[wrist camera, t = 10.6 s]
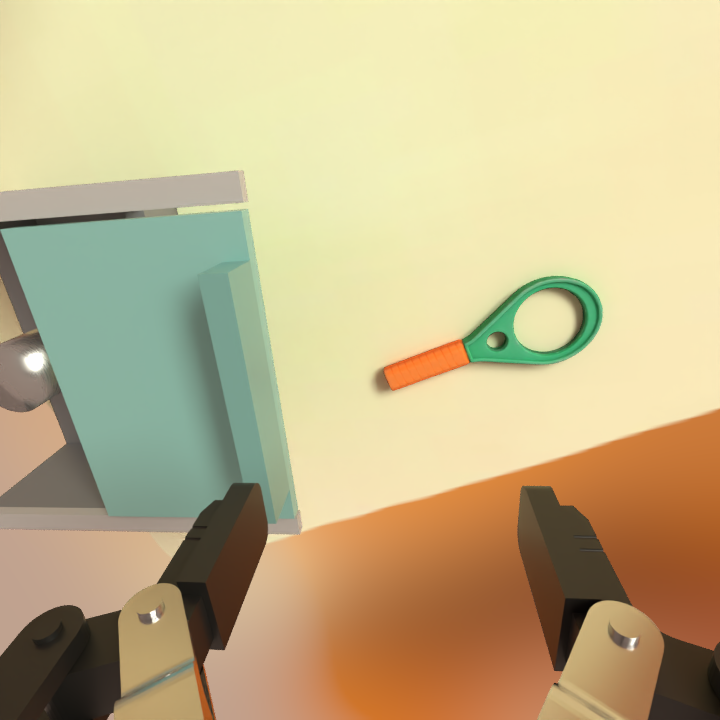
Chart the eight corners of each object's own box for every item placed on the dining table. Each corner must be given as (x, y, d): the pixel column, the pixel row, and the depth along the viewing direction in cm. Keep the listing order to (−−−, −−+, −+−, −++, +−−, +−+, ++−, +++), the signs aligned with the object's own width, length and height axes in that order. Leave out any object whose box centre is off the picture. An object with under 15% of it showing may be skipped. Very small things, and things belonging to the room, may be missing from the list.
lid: (15, 227, 20) (-56, 237, 17) (247, 209, 19) (216, 216, 16) (117, 506, 26) (79, 550, 23) (297, 508, 25) (282, 555, 22)
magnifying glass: (584, 259, 29) (594, 264, 28) (605, 338, 31) (615, 347, 30) (373, 339, 33) (371, 347, 31) (403, 405, 35) (403, 417, 33)
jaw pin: (126, 303, 32) (30, 347, 24) (138, 354, 34) (52, 412, 25) (75, 303, 33) (-37, 347, 24) (89, 353, 34) (-11, 411, 26)
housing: (18, 195, 31) (-187, 208, 20) (302, 170, 28) (237, 170, 18) (101, 429, 38) (-18, 528, 28) (332, 426, 36) (299, 534, 25)
